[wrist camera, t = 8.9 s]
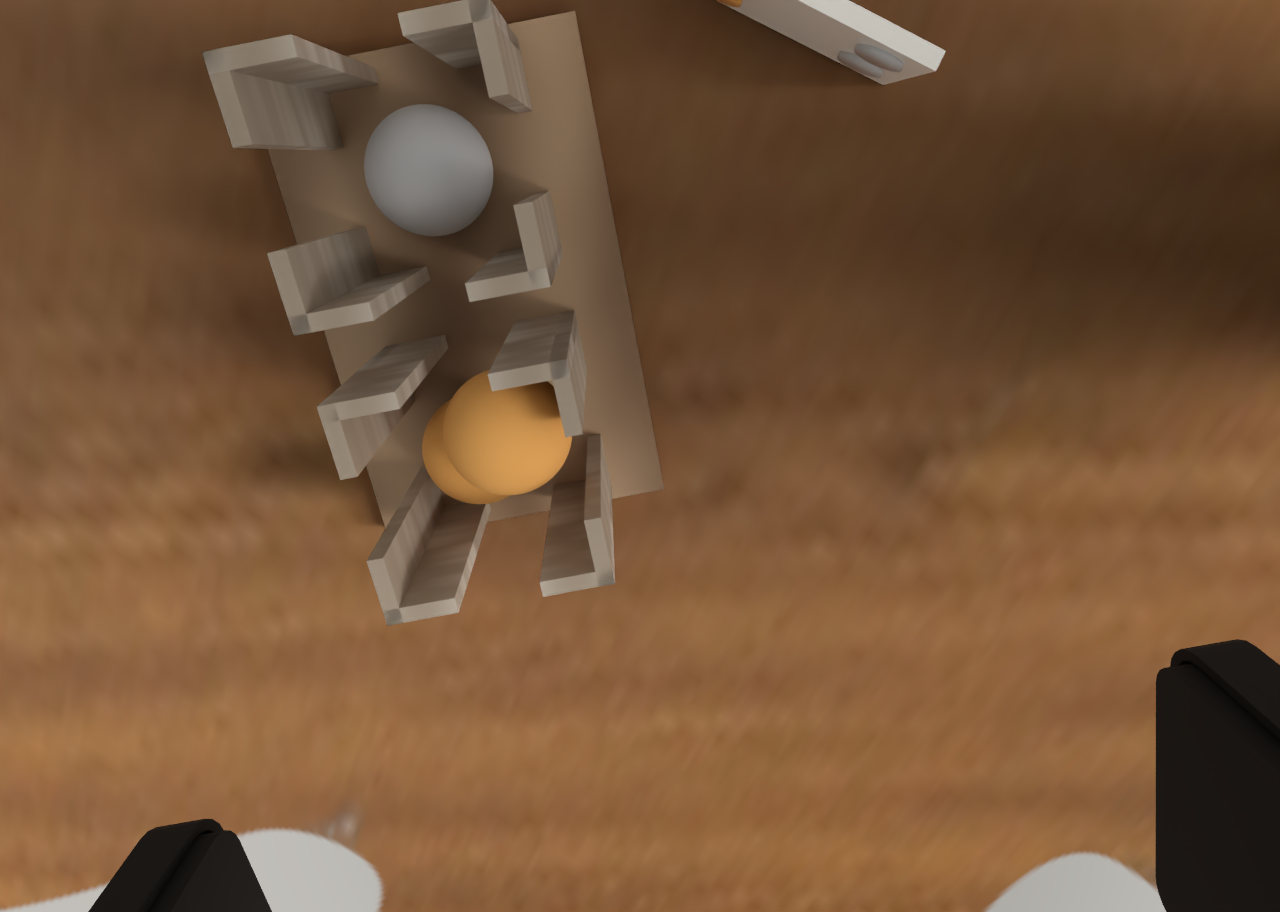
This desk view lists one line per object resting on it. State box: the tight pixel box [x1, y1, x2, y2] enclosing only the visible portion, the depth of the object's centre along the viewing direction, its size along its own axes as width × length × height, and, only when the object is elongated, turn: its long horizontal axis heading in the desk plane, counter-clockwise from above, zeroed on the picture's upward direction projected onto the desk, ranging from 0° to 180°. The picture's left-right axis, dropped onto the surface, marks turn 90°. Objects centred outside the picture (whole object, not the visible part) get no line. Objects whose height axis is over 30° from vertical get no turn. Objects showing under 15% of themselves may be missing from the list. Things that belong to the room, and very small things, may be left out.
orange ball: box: [443, 370, 572, 495], centre depth 27 cm, size 4×4×4 cm
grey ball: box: [364, 104, 493, 236], centre depth 27 cm, size 4×4×4 cm
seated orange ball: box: [422, 400, 510, 504], centre depth 30 cm, size 4×4×4 cm
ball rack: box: [202, 0, 664, 626], centre depth 27 cm, size 11×17×9 cm, turn 10°
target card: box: [716, 0, 946, 85], centre depth 27 cm, size 1×8×5 cm, turn 66°
